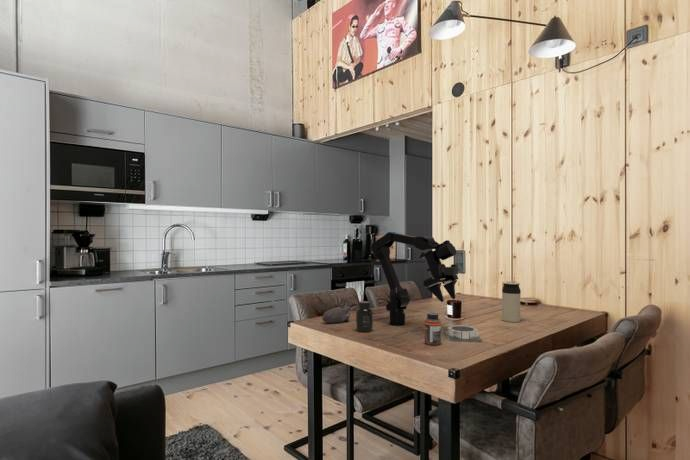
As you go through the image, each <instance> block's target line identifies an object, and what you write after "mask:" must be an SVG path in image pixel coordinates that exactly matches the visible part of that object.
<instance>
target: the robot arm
mask: <svg viewBox="0 0 690 460" xmlns="http://www.w3.org/2000/svg"><path fill="white" fill-rule="evenodd" d="M395 242H396V243H400V244H406V245H410V246H413V247H414V248H415V249H418V250H420V251H421V253H420V255H419V259H424V260H425V263H426V265H427V267H428V269H426V270H427V273H430V276H431V277H428V278H426V279H425V280H422V281H423V282H422V286H423V288H425V289H427V290H428V291H429V292H430V293H432V294H433V295H434V296H435V297H436V299H438V300H439V301H440V303H443V302H444V297H443V292H442V289H441V287H442V286H443V288H444V289H445V291H446V292H447V293H448V295H449V296H450V297H451V299H452V300H455V299H456V289H455V287H456V286H455V285H456V283H457V282H458V280H459V277H458V275H459V271H460V268H459V266H458V264H457V263H454V264H450V266H446V265H445V263H442V262H441V261H446V260H447V259H449V258H451V257H454V256H456V255H457V249H456V247H455V246H454V244H452V243H451V242H450V240H449V239H448V240H444V241H443V242H441V243H439V242H438V241H436V240H435V238H434V237H433V236H414V235H409V234H403V233H399V232H395V231H394V232H393V231H388V232H387V233H385V234H384V235H383V236H381V237H380V238H378V239H377V240H375V241H373V242H372V243H371V246H370V251H371V253H372V254H373V256H374V257H375V258H376V259H377V260H378V261H379V263H380V266H381V269H382V272H383V273H384V276H385V279H386V282H387V284H388V287H389V300H390V301H389V302H388V303H387V304H386V305H385V309H386V311H389V320H388V325H390V326H392V325H393V326H404V325H405V323H406V313H405V312H404V310H406V309H407V308H408V305H409V304H410V301H411V299H410V297H411V295H409V292H408V289H407V288H403V287H402V286H401V284H400V281H399V279H398V276H397V274H396V271H395V269H394V265H393V263H392V260H391V257H390V256H391V247H393V245H394V243H395ZM425 251H426V252H425ZM442 284H443V285H442Z"/></svg>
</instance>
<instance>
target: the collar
mask: <svg viewBox="0 0 690 460" xmlns="http://www.w3.org/2000/svg"><path fill="white" fill-rule="evenodd" d="M444 334H445V336H446V337H447V339H448V340H449V342H470V343H471V342H472V343H473V342H476V343H482V342H483V339H482V338H481V337H480V336H479V330H478V328H476V327H474V326H470V325H469V326H468V325H459V324H458V325H450V326H447V330H445V331H444Z"/></svg>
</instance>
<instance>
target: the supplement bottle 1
mask: <svg viewBox="0 0 690 460" xmlns="http://www.w3.org/2000/svg"><path fill="white" fill-rule="evenodd" d="M355 312H356V313H355V314H356V316H355V317H356V323H355V324H356V326H355V327H356V328H355V329H356V331H357V332H359V333H370V332H372V331H373V325H374V324H373V323H374V322H373V321H374V319H373V318H374V317H373V313H374V312H373V309H372V308H371V301H368V300H367V301H365V300H361V301H359V302H358V308H357V309H356V311H355Z"/></svg>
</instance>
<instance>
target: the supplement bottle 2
mask: <svg viewBox="0 0 690 460" xmlns="http://www.w3.org/2000/svg"><path fill="white" fill-rule="evenodd" d="M426 315H427V317H426V318H425V319H424V343H425V344H426V345H429V346H439V345H440V344H441V343H442V342H441V341H442V339H441V338H442V335H441V334H442V331H441V330H442V322H441V319H440V318H439V312H435V311H434V312H432V311H431V312H427V314H426Z"/></svg>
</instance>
